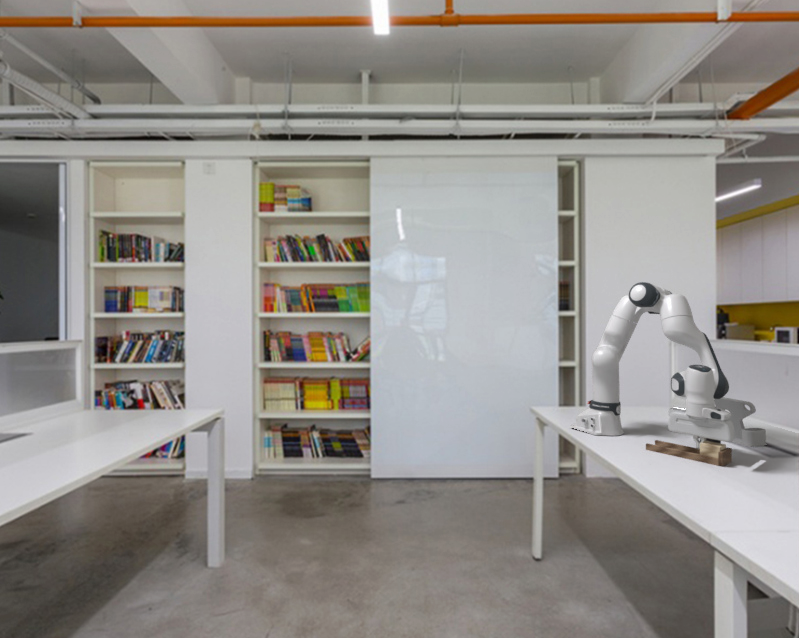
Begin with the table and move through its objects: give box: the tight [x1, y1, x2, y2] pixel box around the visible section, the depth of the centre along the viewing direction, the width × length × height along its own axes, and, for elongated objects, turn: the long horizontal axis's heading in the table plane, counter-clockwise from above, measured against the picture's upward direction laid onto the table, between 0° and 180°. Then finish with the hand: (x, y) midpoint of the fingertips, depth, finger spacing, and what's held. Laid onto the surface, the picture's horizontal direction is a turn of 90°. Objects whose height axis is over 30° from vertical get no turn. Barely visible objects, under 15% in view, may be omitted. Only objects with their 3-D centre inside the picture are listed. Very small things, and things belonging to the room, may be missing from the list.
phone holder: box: [714, 396, 768, 448], centre depth 190 cm, size 17×10×18 cm, turn 15°
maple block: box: [700, 441, 727, 458], centre depth 159 cm, size 6×6×6 cm
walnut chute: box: [645, 439, 733, 467], centre depth 165 cm, size 25×9×6 cm, turn 37°
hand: (699, 448), depth 162 cm, fingers closed
